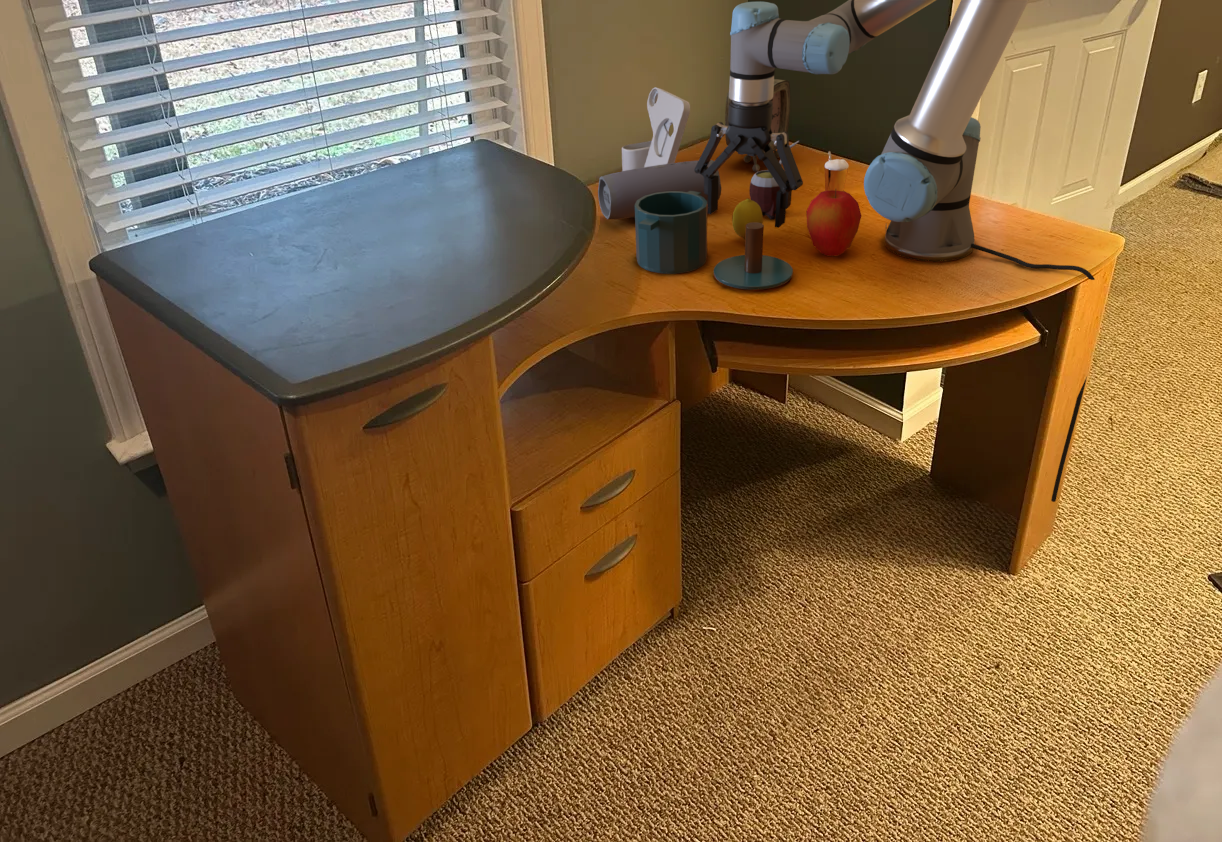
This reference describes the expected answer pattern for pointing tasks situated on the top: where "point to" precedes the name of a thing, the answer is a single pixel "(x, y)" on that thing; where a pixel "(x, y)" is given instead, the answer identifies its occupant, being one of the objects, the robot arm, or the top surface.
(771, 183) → the mate gourd
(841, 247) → the apple
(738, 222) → the lemon
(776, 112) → the tabletop clock
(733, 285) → the lid
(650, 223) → the pot
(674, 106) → the phone holder
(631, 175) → the bluetooth speaker
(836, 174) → the milkshake
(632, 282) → the top surface
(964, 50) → the robot arm
